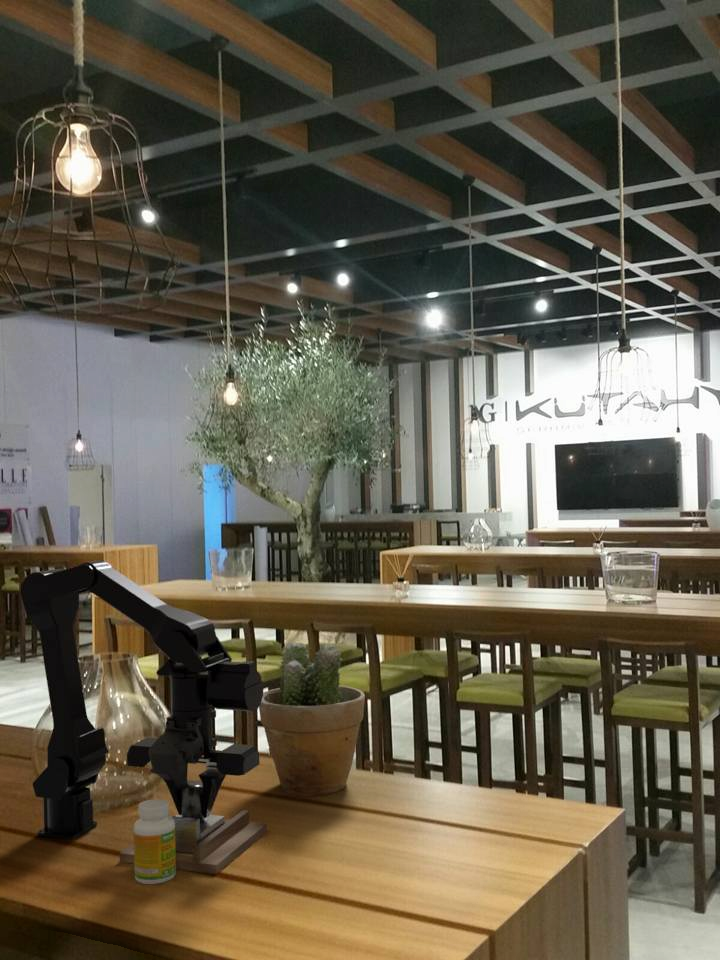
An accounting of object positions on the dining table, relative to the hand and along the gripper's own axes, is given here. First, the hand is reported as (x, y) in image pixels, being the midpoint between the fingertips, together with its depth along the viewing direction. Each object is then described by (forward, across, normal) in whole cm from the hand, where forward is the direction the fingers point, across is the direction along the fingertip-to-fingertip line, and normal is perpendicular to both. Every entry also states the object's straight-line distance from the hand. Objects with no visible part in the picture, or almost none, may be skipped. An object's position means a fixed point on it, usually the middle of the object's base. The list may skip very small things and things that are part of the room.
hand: (194, 815), depth 136 cm
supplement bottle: (+5, 0, -11) cm, 12 cm away
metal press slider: (+3, 0, -1) cm, 3 cm away
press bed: (+4, 0, 0) cm, 5 cm away
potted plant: (+5, +6, +30) cm, 31 cm away
